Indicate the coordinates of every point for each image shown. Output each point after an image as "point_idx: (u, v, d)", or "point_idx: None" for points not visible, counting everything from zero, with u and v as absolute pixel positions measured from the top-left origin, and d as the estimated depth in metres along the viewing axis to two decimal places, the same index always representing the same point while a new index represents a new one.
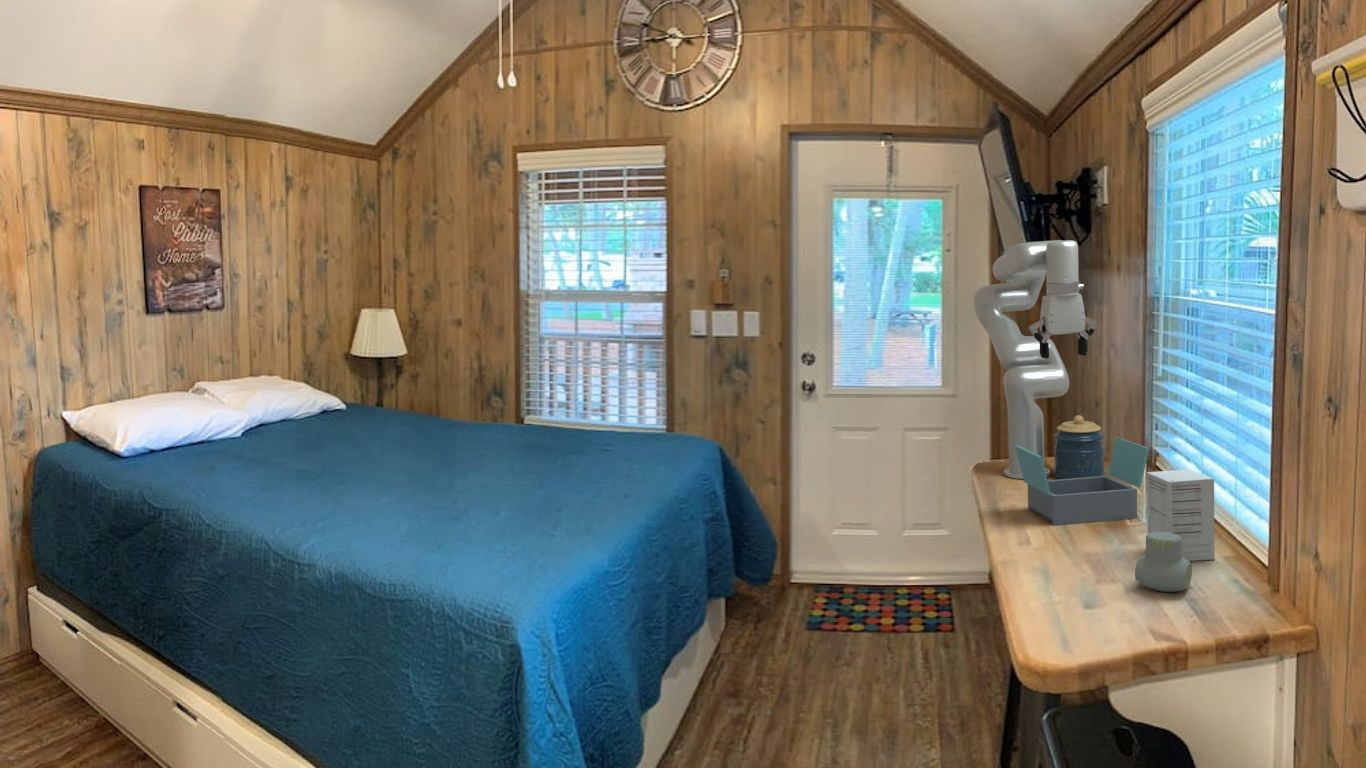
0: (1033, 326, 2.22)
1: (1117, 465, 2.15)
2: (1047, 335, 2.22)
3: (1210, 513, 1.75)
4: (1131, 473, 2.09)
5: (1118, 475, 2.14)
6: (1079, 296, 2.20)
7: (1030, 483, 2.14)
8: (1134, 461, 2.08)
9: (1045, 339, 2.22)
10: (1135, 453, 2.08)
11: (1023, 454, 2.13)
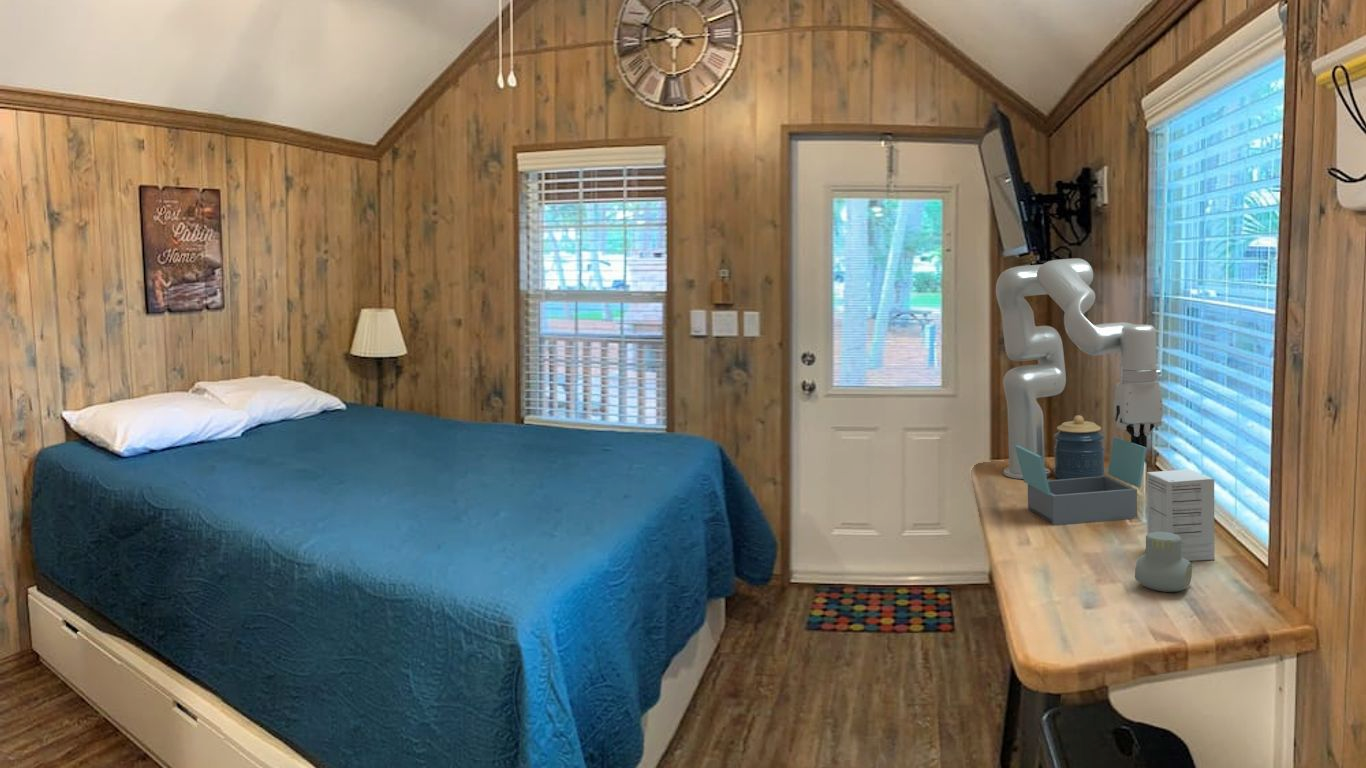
0: (1120, 425, 2.10)
1: (1116, 465, 2.15)
2: (1135, 428, 2.09)
3: (1210, 513, 1.75)
4: (1130, 473, 2.09)
5: (1118, 475, 2.14)
6: (1157, 384, 2.07)
7: (1030, 483, 2.14)
8: (1132, 461, 2.08)
9: (1137, 432, 2.09)
10: (1133, 453, 2.08)
11: (1023, 454, 2.13)
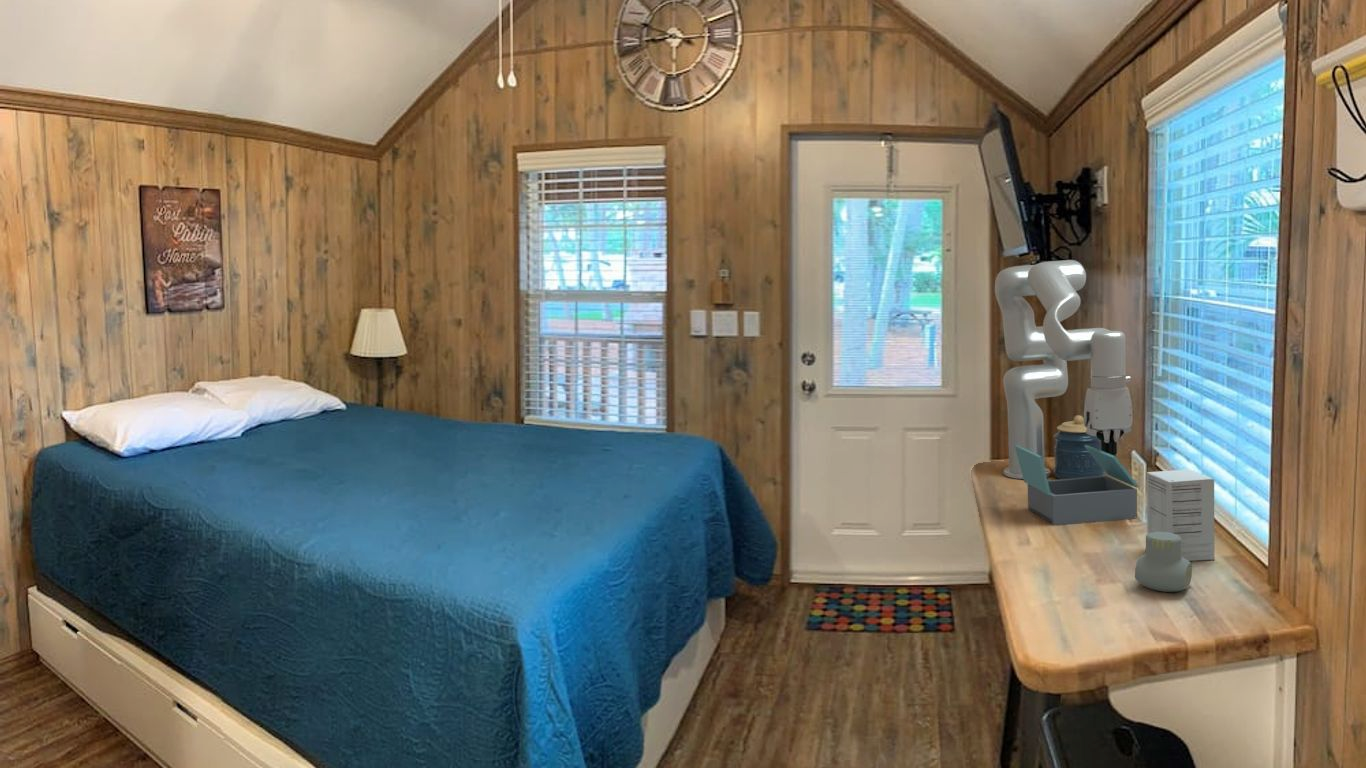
0: (1089, 431, 2.10)
1: (1106, 468, 2.15)
2: (1105, 434, 2.09)
3: (1210, 513, 1.75)
4: (1122, 476, 2.09)
5: (1114, 476, 2.14)
6: (1126, 390, 2.07)
7: (1030, 483, 2.14)
8: (1114, 467, 2.08)
9: (1106, 438, 2.09)
10: (1109, 460, 2.08)
11: (1023, 454, 2.13)
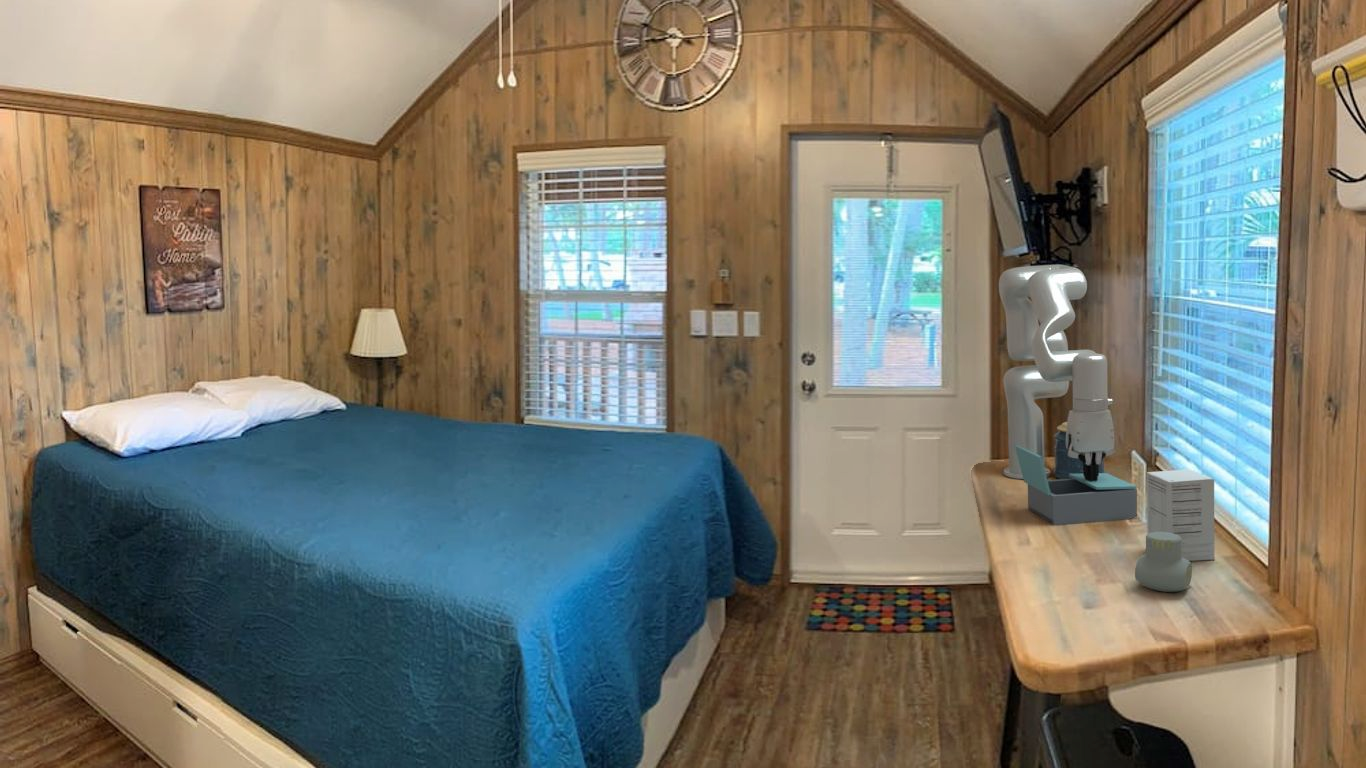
0: (1071, 453, 2.10)
1: None
2: (1087, 456, 2.10)
3: (1210, 513, 1.75)
4: None
5: None
6: (1108, 413, 2.08)
7: (1030, 483, 2.14)
8: None
9: (1088, 460, 2.10)
10: None
11: (1023, 454, 2.13)
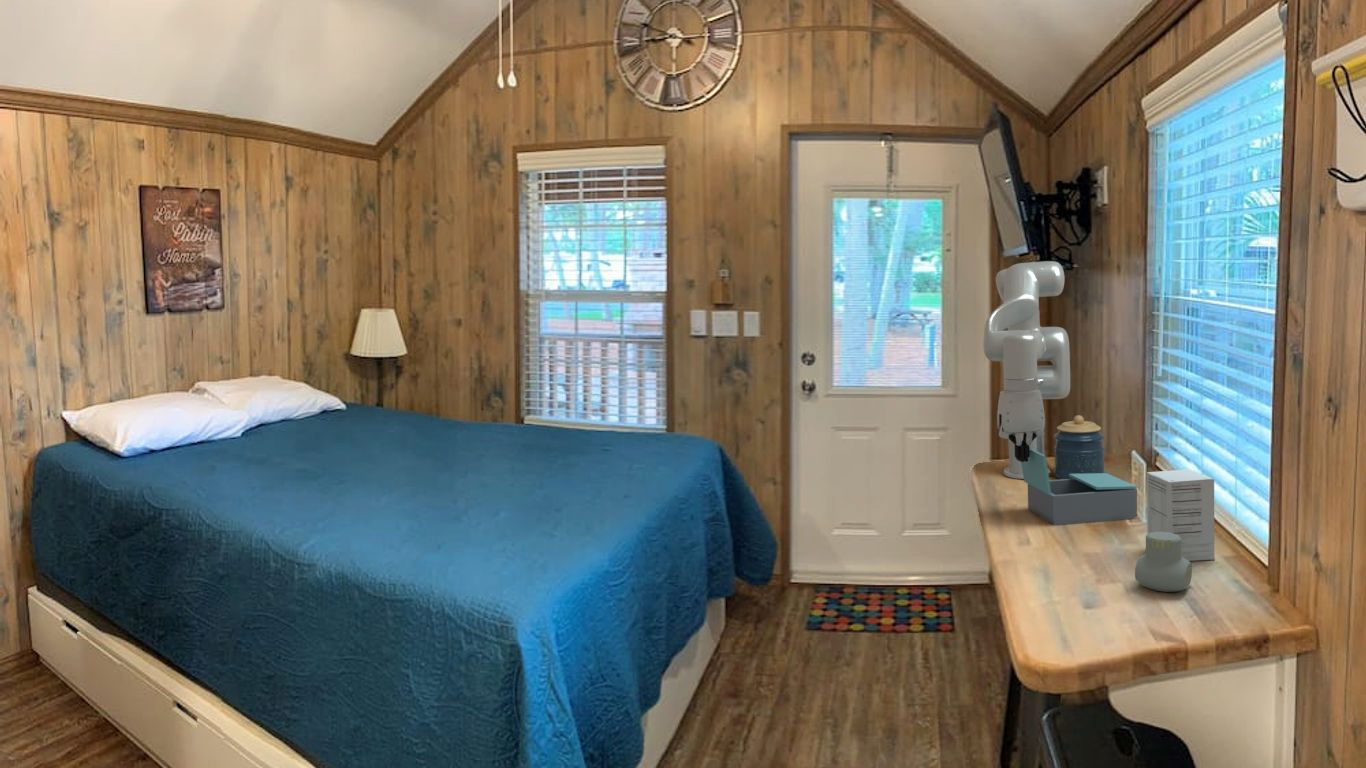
0: (1002, 434, 2.09)
1: None
2: (1017, 437, 2.08)
3: (1210, 513, 1.75)
4: None
5: None
6: (1038, 393, 2.06)
7: (1030, 483, 2.14)
8: None
9: (1019, 441, 2.09)
10: None
11: None
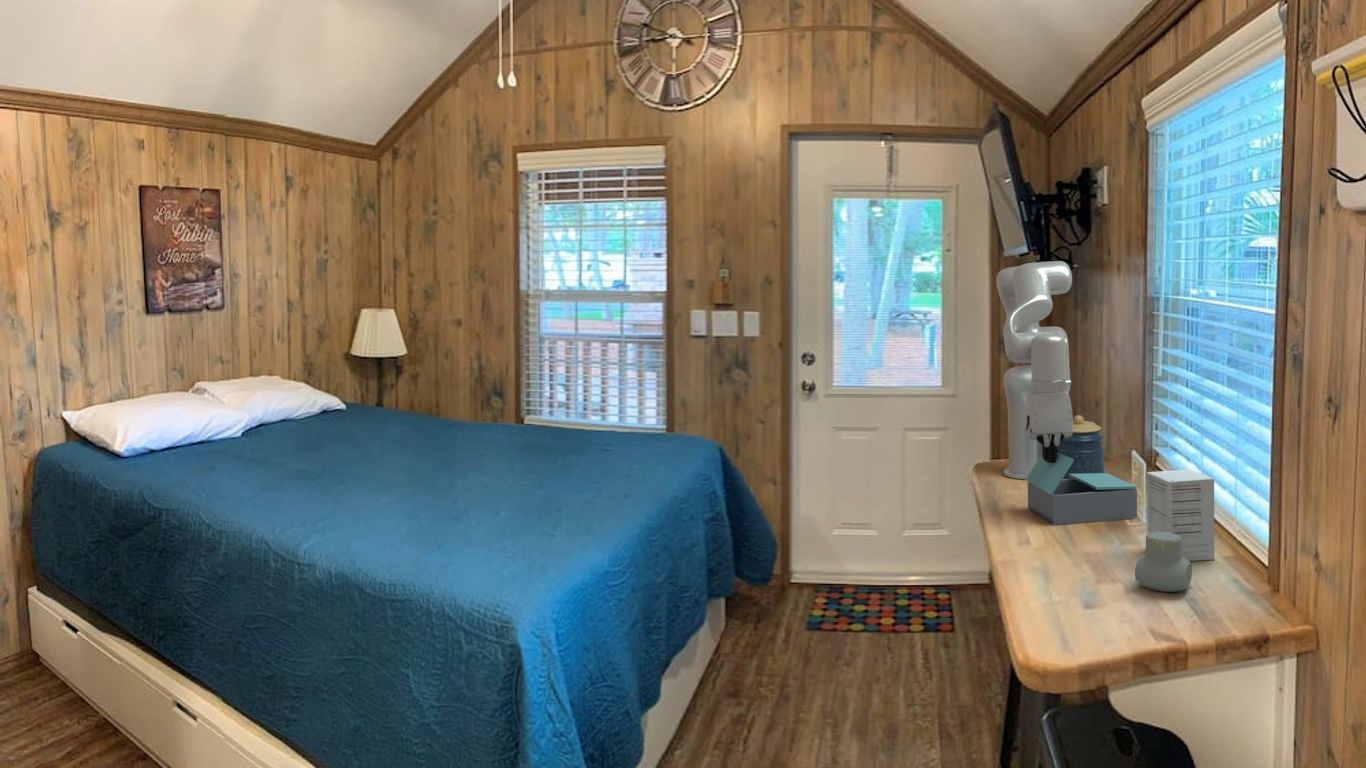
0: (1030, 435, 2.09)
1: None
2: (1045, 438, 2.09)
3: (1210, 513, 1.75)
4: None
5: None
6: (1066, 394, 2.07)
7: (1033, 481, 2.14)
8: None
9: (1047, 442, 2.09)
10: None
11: None
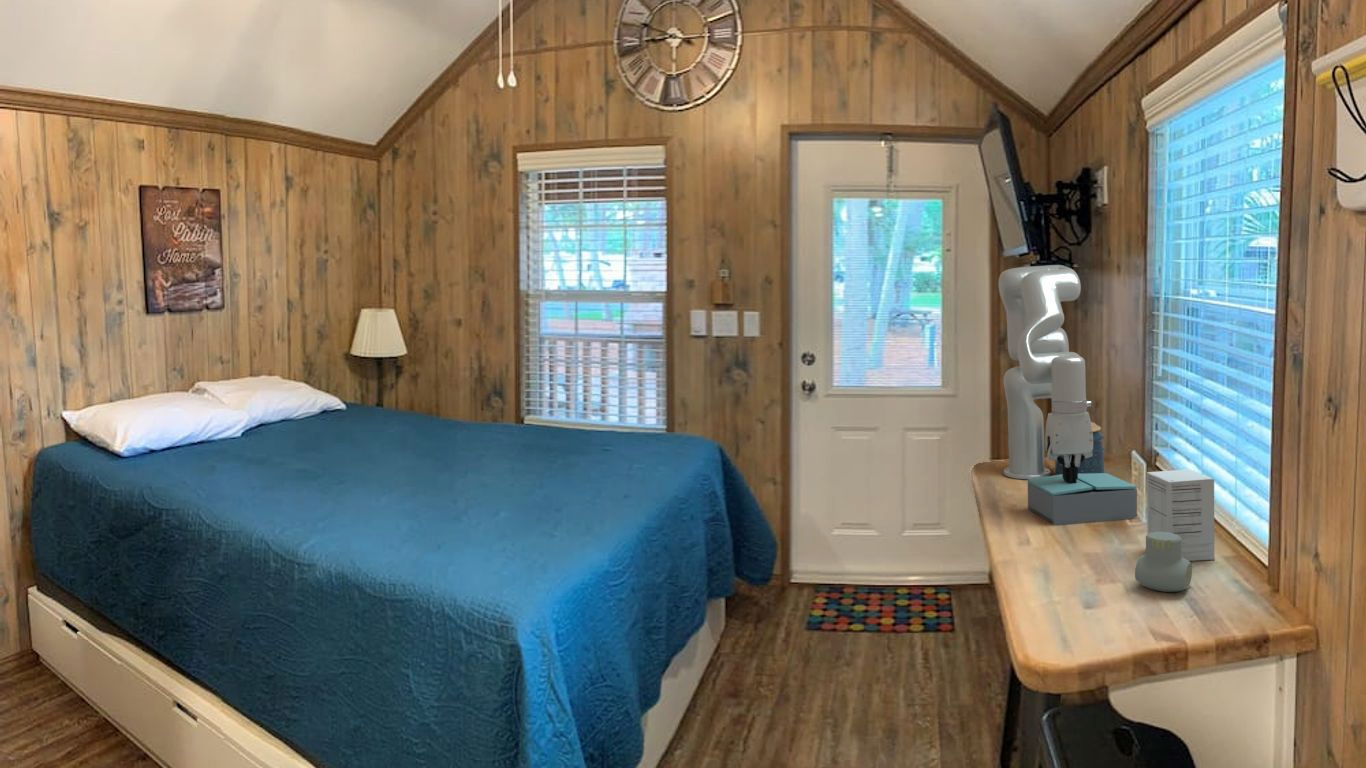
0: (1050, 456, 2.10)
1: None
2: (1065, 459, 2.09)
3: (1210, 513, 1.75)
4: None
5: None
6: (1086, 415, 2.07)
7: (1036, 483, 2.14)
8: None
9: (1067, 463, 2.09)
10: None
11: None
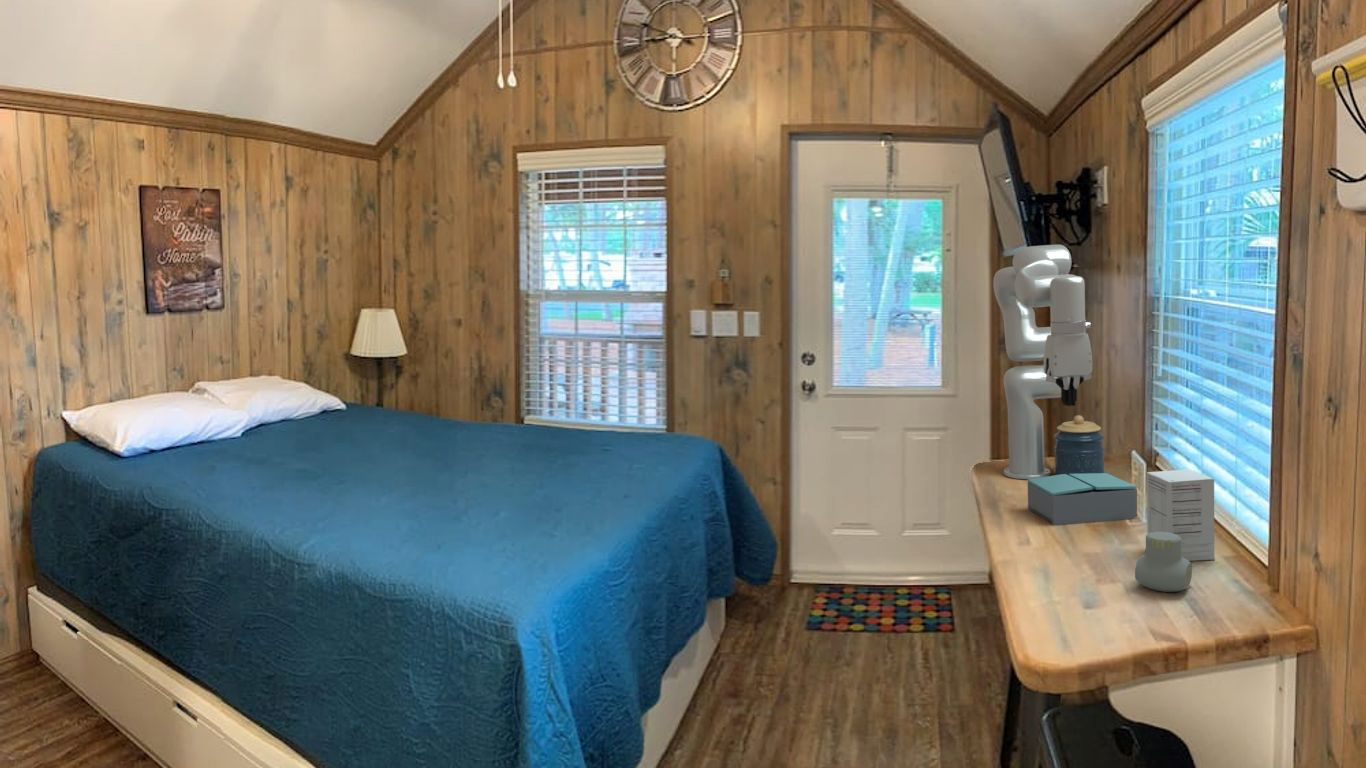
0: (1049, 378, 2.08)
1: None
2: (1064, 381, 2.07)
3: (1210, 513, 1.75)
4: None
5: None
6: (1086, 336, 2.05)
7: (1036, 483, 2.14)
8: None
9: (1066, 385, 2.07)
10: None
11: (1068, 478, 2.14)
